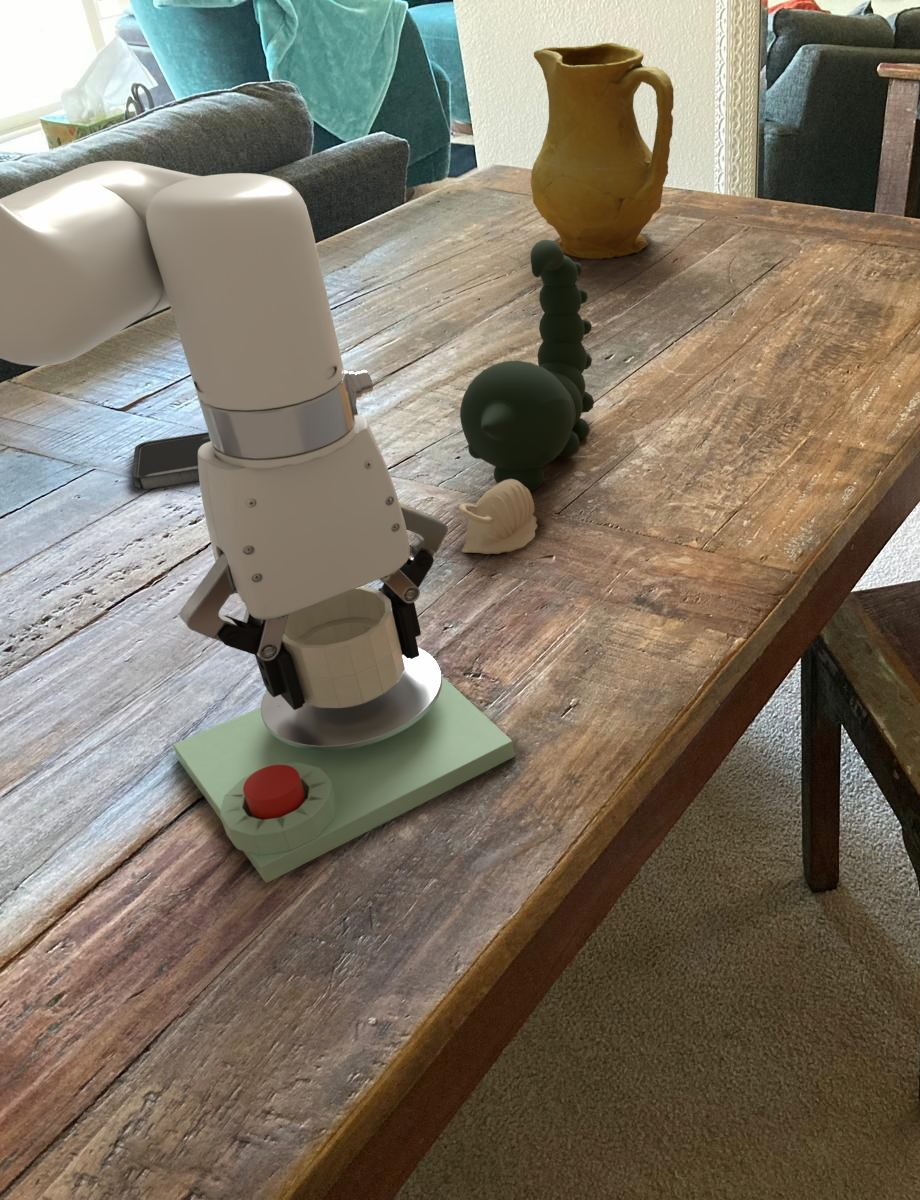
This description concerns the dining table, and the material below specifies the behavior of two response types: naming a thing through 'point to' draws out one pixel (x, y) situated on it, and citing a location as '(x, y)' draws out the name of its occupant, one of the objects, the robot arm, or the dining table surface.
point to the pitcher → (600, 149)
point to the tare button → (274, 791)
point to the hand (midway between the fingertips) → (348, 671)
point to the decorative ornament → (500, 519)
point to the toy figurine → (535, 384)
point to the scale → (338, 778)
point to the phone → (167, 461)
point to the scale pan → (357, 712)
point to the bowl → (345, 648)
